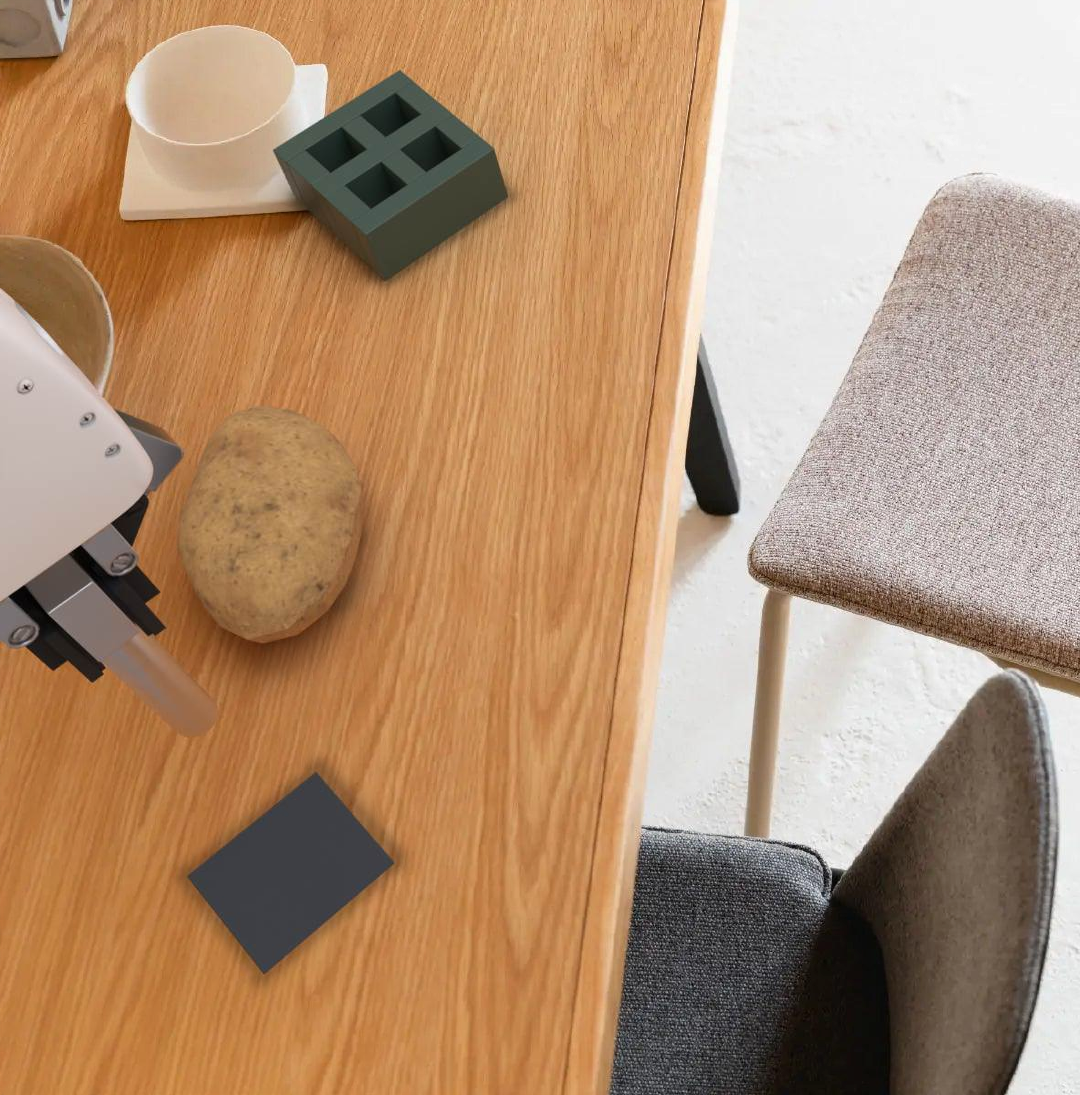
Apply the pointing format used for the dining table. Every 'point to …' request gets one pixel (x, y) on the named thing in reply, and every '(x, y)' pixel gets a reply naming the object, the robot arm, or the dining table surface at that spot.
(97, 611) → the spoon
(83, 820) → the dining table surface
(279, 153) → the rack
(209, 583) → the potato
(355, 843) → the mat
